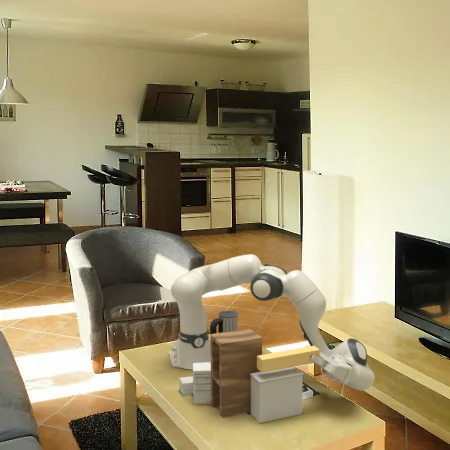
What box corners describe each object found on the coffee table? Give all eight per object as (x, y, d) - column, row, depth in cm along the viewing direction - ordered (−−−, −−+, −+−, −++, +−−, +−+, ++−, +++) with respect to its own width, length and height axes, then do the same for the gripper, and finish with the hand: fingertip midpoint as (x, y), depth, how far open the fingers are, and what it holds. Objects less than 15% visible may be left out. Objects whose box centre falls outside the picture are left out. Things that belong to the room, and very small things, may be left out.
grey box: (249, 413, 202) (249, 373, 200) (292, 404, 208) (292, 365, 206) (259, 423, 195) (259, 382, 193) (302, 413, 202) (303, 373, 199)
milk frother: (226, 339, 271) (225, 308, 269) (254, 347, 262) (254, 315, 259) (207, 349, 260) (206, 317, 257) (236, 357, 251) (236, 324, 248)
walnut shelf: (211, 404, 209) (210, 334, 204) (249, 397, 214) (249, 328, 210) (222, 417, 200) (221, 344, 195) (261, 409, 205) (262, 337, 201)
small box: (197, 394, 217) (197, 381, 216) (182, 396, 215) (182, 383, 215) (194, 387, 222) (193, 375, 222) (179, 389, 221) (178, 377, 220)
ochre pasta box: (257, 368, 198) (256, 355, 198) (313, 357, 207) (313, 345, 206) (262, 372, 195) (262, 360, 194) (319, 361, 203) (320, 349, 202)
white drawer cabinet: (193, 395, 216) (192, 362, 214) (213, 394, 217) (213, 361, 215) (193, 404, 209) (192, 370, 207) (214, 403, 209) (213, 370, 207)
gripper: (324, 349, 218) (296, 336, 212) (357, 370, 200) (327, 356, 194) (317, 364, 218) (288, 352, 212) (349, 386, 199) (318, 373, 194)
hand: (307, 354), depth 203 cm, fingers closed on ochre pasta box, 4 cm apart
